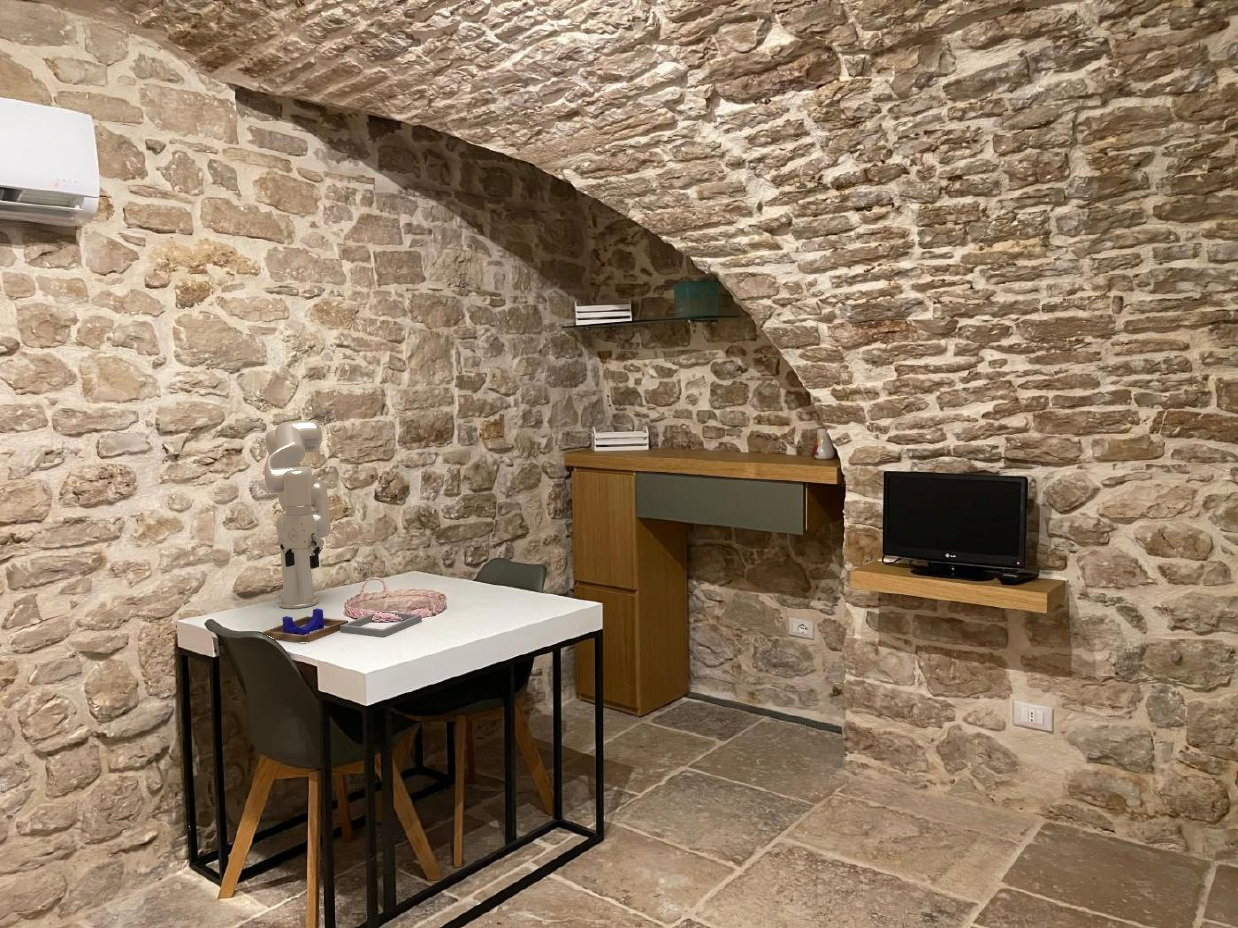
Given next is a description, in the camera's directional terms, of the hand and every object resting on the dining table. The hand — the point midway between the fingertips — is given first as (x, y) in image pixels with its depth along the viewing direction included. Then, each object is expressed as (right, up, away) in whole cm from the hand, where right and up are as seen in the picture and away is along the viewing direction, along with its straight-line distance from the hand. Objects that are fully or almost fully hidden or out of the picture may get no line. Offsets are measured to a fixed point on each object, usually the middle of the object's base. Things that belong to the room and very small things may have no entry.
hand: (302, 566), depth 287 cm
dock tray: (+22, -19, +6) cm, 30 cm away
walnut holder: (+1, -20, +2) cm, 20 cm away
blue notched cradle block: (0, -21, +3) cm, 21 cm away
